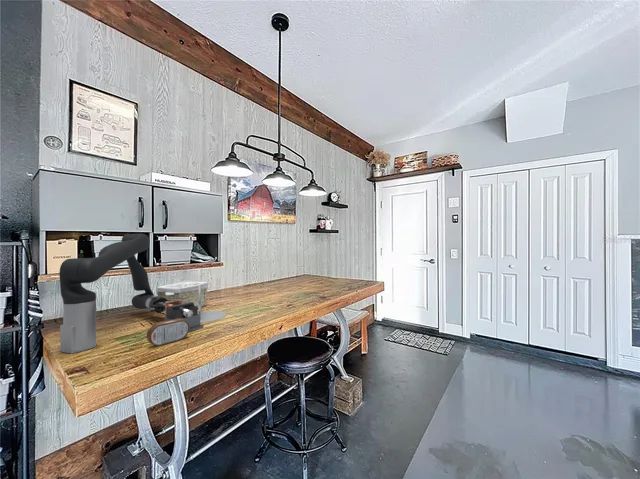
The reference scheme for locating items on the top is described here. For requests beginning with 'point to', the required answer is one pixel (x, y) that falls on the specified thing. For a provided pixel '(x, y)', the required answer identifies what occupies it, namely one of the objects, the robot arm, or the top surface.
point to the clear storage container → (184, 292)
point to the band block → (177, 313)
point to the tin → (167, 332)
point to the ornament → (209, 313)
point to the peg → (185, 311)
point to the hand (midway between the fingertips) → (173, 308)
